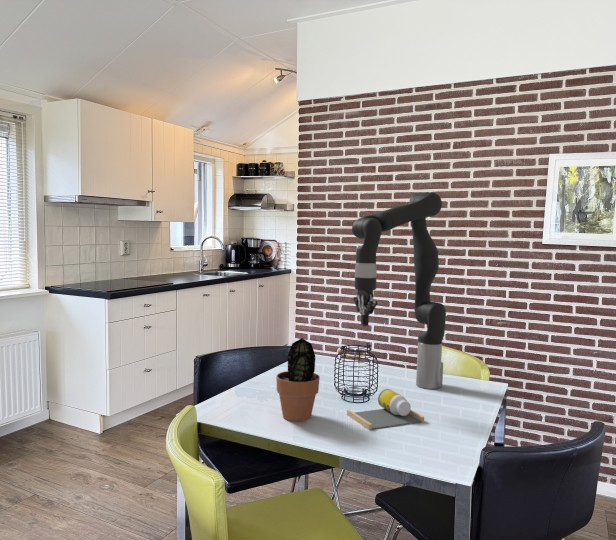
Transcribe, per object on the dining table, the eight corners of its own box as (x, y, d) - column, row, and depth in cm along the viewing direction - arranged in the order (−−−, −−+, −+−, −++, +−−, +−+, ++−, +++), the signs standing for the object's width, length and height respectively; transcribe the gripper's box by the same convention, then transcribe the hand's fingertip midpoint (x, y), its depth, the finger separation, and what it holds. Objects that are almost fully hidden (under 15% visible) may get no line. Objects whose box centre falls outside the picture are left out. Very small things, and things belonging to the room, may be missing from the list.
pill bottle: (374, 395, 171) (392, 405, 160) (389, 384, 173) (408, 394, 162) (381, 411, 172) (400, 422, 162) (396, 400, 174) (416, 411, 164)
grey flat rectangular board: (398, 407, 174) (399, 403, 174) (424, 421, 161) (424, 416, 161) (346, 414, 166) (346, 409, 165) (369, 429, 153) (369, 424, 153)
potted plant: (266, 415, 163) (268, 337, 162) (300, 406, 172) (302, 333, 170) (293, 428, 153) (295, 345, 151) (327, 418, 161) (329, 340, 160)
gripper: (385, 277, 173) (384, 328, 175) (365, 274, 185) (364, 321, 187) (366, 277, 170) (364, 329, 171) (347, 274, 182) (346, 322, 183)
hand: (364, 325), depth 179 cm, fingers closed
